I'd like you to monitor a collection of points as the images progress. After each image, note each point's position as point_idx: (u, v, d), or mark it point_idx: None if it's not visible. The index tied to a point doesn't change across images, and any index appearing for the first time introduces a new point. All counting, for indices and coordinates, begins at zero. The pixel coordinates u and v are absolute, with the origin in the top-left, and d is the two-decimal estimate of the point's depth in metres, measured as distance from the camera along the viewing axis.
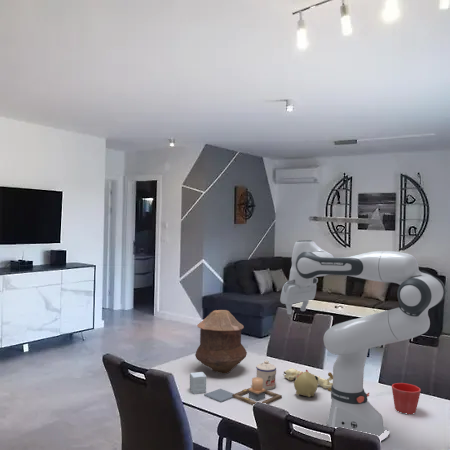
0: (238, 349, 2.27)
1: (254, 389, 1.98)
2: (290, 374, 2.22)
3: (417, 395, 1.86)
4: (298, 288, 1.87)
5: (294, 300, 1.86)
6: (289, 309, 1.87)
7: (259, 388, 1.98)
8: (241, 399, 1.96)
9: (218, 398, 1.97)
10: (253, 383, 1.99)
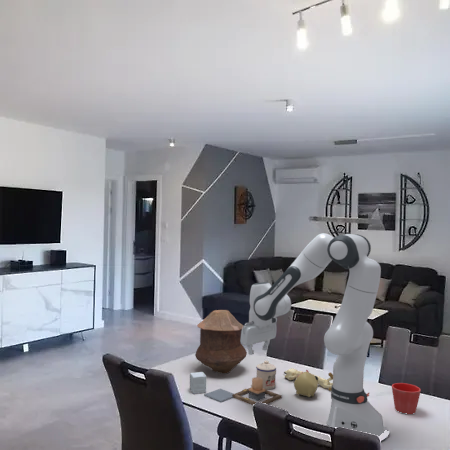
0: (238, 349, 2.27)
1: (254, 389, 1.98)
2: (290, 374, 2.22)
3: (417, 395, 1.86)
4: (257, 329, 1.96)
5: (254, 341, 1.95)
6: (250, 350, 1.95)
7: (259, 388, 1.98)
8: (241, 399, 1.96)
9: (218, 398, 1.97)
10: (253, 383, 1.99)
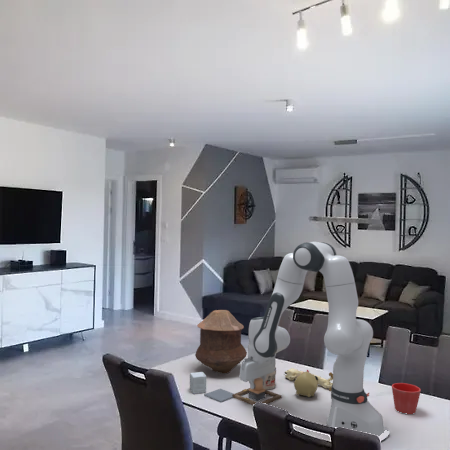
0: (238, 349, 2.27)
1: (254, 389, 1.98)
2: (291, 374, 2.22)
3: (417, 395, 1.86)
4: (256, 364, 1.96)
5: (253, 376, 1.95)
6: (252, 384, 1.97)
7: (259, 388, 1.98)
8: (241, 399, 1.96)
9: (218, 398, 1.97)
10: None
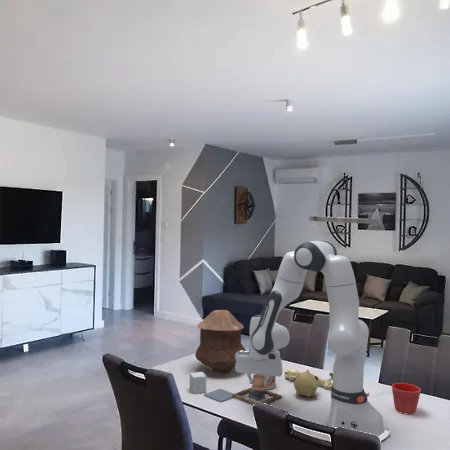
0: (238, 349, 2.27)
1: None
2: (291, 374, 2.22)
3: (417, 395, 1.86)
4: (250, 359, 1.99)
5: (246, 370, 2.00)
6: None
7: (254, 384, 1.99)
8: (241, 399, 1.96)
9: (218, 398, 1.97)
10: None
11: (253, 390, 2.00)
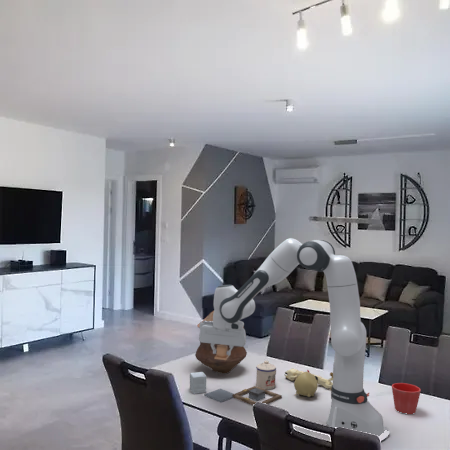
0: (238, 349, 2.27)
1: (216, 354, 2.01)
2: (291, 374, 2.21)
3: (417, 395, 1.86)
4: (214, 329, 2.00)
5: (209, 340, 2.00)
6: None
7: (218, 354, 1.99)
8: (241, 399, 1.96)
9: (218, 398, 1.97)
10: None
11: (253, 390, 2.00)
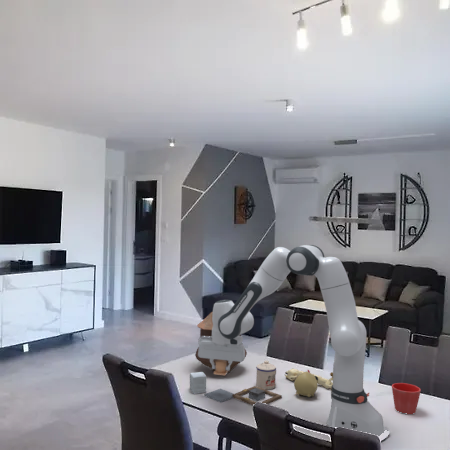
0: None
1: None
2: (292, 374, 2.21)
3: (417, 395, 1.86)
4: (213, 345, 2.00)
5: (208, 355, 2.00)
6: None
7: (217, 369, 1.99)
8: (241, 399, 1.96)
9: (218, 398, 1.97)
10: None
11: (253, 390, 2.00)
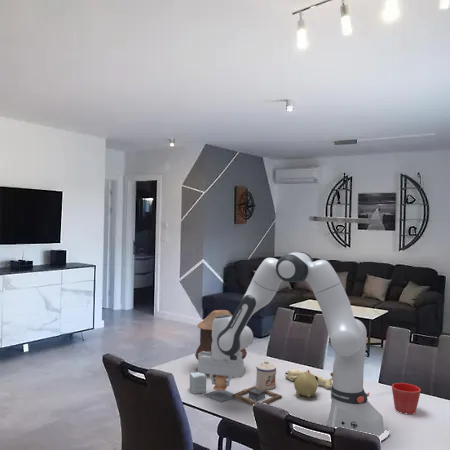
0: None
1: (215, 385, 2.01)
2: (292, 374, 2.21)
3: (417, 395, 1.86)
4: (212, 360, 2.00)
5: (208, 371, 2.00)
6: None
7: (216, 384, 1.99)
8: (241, 399, 1.96)
9: (218, 398, 1.97)
10: None
11: (253, 390, 2.00)
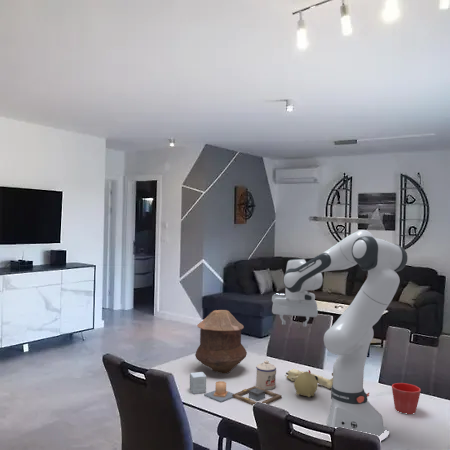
0: (238, 349, 2.27)
1: (215, 391, 2.01)
2: (293, 375, 2.21)
3: (417, 395, 1.86)
4: (287, 301, 2.09)
5: (282, 311, 2.09)
6: (281, 319, 2.11)
7: (217, 391, 1.99)
8: (241, 399, 1.96)
9: (218, 398, 1.97)
10: None
11: (253, 390, 2.00)
